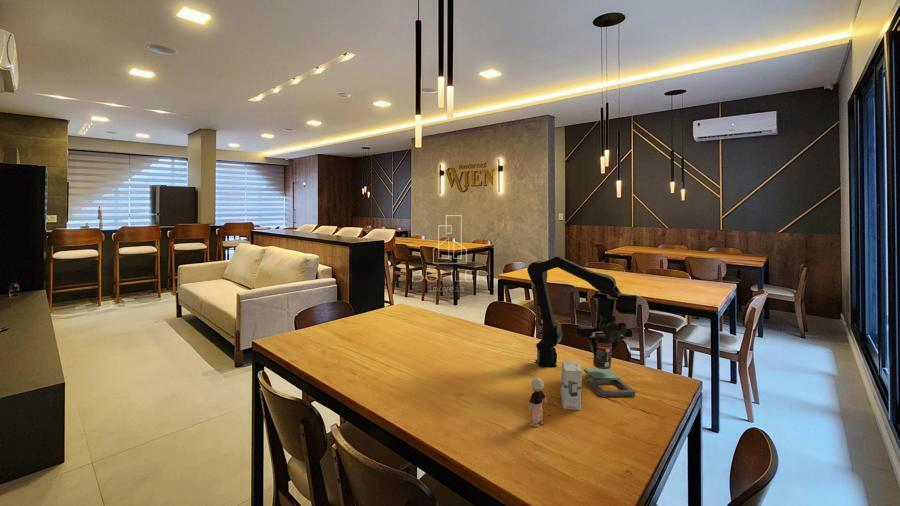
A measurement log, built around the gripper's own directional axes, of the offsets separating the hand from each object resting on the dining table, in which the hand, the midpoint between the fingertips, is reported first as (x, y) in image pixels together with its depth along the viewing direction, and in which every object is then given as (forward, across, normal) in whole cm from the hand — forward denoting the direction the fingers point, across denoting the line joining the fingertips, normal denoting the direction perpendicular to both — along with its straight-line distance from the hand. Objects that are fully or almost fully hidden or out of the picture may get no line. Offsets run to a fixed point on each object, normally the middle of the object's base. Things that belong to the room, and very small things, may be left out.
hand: (602, 354), depth 146 cm
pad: (+7, 0, 0) cm, 7 cm away
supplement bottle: (+5, 0, 0) cm, 5 cm away
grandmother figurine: (+8, -34, -34) cm, 49 cm away
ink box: (+8, -20, -22) cm, 31 cm away
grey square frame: (+7, -3, -13) cm, 15 cm away
